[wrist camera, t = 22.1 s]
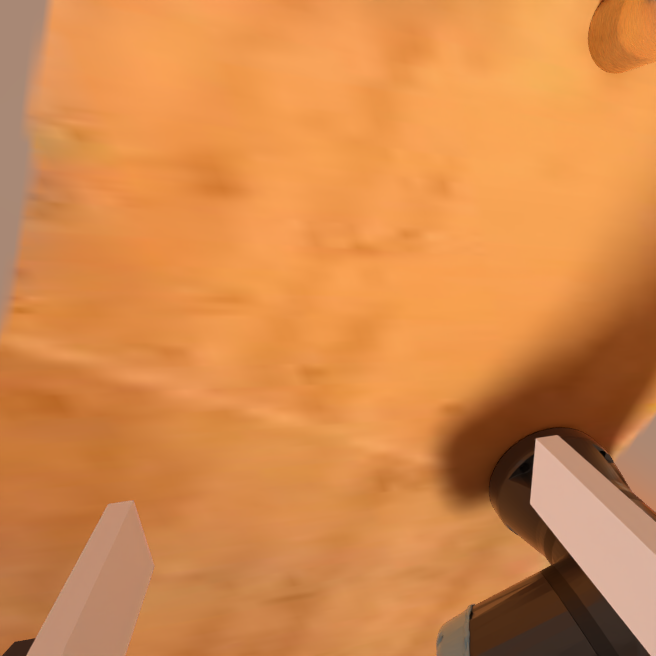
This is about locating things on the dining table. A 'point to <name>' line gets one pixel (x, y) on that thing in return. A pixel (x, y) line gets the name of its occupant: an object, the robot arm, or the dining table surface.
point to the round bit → (623, 34)
